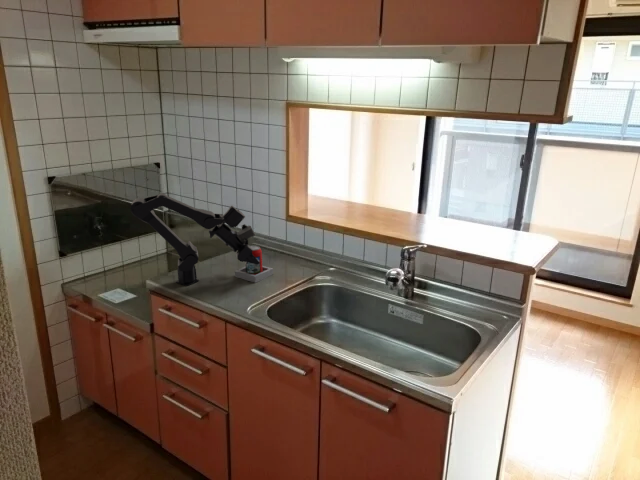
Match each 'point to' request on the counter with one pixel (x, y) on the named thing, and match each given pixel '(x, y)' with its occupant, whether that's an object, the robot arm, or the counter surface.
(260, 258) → the beverage can
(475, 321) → the counter surface
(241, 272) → the holder
